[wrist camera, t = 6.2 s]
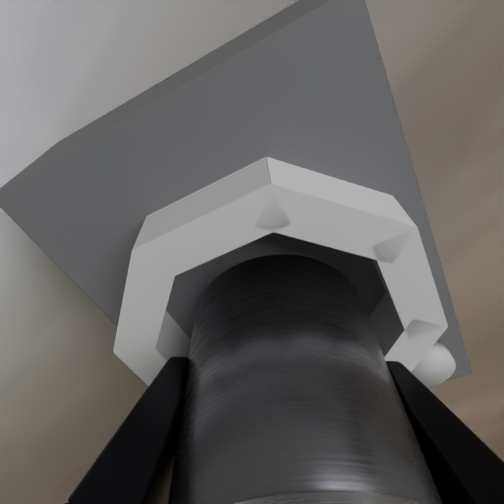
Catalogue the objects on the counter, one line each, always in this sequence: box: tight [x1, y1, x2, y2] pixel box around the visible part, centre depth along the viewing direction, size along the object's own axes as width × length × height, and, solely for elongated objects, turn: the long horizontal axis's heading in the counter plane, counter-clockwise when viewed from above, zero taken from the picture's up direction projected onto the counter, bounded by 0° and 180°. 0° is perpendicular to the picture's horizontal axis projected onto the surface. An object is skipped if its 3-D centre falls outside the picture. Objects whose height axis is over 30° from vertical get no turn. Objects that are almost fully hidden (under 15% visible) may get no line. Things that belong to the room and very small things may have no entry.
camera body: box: [0, 0, 472, 387], centre depth 12 cm, size 12×9×6 cm
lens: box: [168, 254, 443, 504], centre depth 7 cm, size 5×5×7 cm
